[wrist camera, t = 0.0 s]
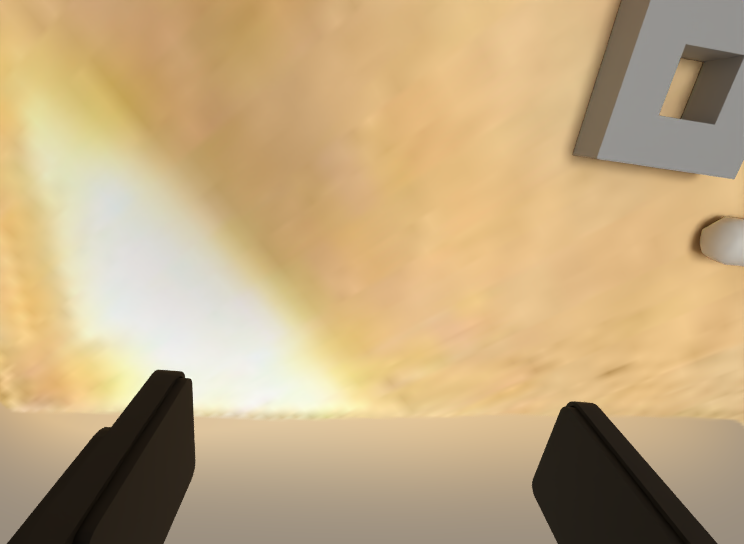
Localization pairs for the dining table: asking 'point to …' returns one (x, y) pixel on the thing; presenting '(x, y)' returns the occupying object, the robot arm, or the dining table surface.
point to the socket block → (652, 81)
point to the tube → (724, 241)
